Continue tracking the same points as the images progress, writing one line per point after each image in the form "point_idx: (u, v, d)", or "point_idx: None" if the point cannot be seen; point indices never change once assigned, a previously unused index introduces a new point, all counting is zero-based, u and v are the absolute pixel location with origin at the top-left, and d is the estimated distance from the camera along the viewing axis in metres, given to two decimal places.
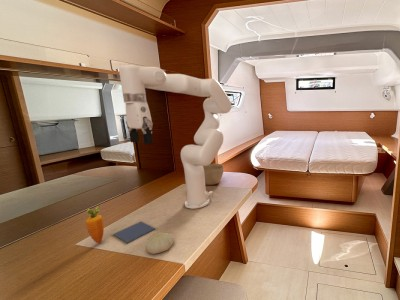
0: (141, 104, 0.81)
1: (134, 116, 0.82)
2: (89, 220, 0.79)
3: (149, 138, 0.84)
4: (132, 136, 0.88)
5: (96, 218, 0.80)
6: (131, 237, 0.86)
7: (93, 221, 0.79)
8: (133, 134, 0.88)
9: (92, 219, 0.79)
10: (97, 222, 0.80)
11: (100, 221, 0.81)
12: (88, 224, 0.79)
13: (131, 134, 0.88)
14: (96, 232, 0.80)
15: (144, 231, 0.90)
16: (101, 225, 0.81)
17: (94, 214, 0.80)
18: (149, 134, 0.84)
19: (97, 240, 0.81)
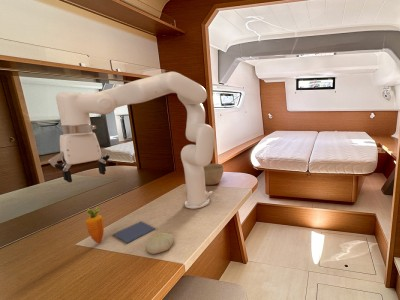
0: None
1: (91, 147, 0.76)
2: (89, 220, 0.79)
3: None
4: None
5: (96, 218, 0.80)
6: (131, 237, 0.86)
7: (93, 221, 0.79)
8: None
9: (92, 219, 0.79)
10: (97, 222, 0.80)
11: (100, 221, 0.81)
12: (88, 224, 0.79)
13: (69, 172, 0.73)
14: (96, 232, 0.80)
15: (144, 231, 0.90)
16: (101, 225, 0.81)
17: (94, 214, 0.80)
18: None
19: (97, 240, 0.81)
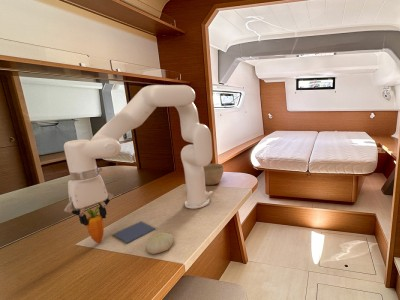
0: None
1: (98, 190, 0.79)
2: (89, 220, 0.79)
3: None
4: None
5: (96, 218, 0.80)
6: (131, 237, 0.86)
7: (93, 221, 0.79)
8: None
9: (92, 219, 0.79)
10: (97, 222, 0.80)
11: (100, 221, 0.81)
12: (88, 224, 0.79)
13: (85, 216, 0.78)
14: (96, 232, 0.80)
15: (144, 231, 0.90)
16: (101, 225, 0.81)
17: (94, 214, 0.80)
18: None
19: (97, 240, 0.81)
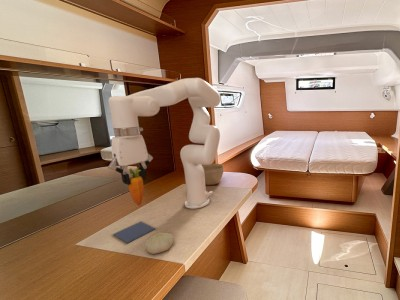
0: None
1: (140, 149, 0.78)
2: (131, 180, 0.78)
3: None
4: None
5: (137, 178, 0.79)
6: (131, 237, 0.86)
7: (135, 181, 0.78)
8: None
9: (134, 179, 0.78)
10: (138, 182, 0.79)
11: (141, 182, 0.80)
12: (130, 184, 0.78)
13: None
14: (137, 192, 0.79)
15: (144, 231, 0.90)
16: (142, 186, 0.80)
17: (135, 174, 0.79)
18: None
19: (138, 201, 0.80)
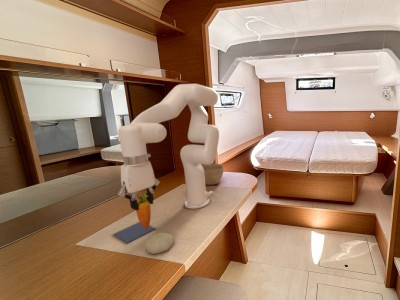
0: None
1: (148, 175, 0.80)
2: (139, 205, 0.80)
3: None
4: None
5: (145, 203, 0.81)
6: (131, 237, 0.86)
7: (143, 206, 0.80)
8: None
9: (142, 204, 0.80)
10: (146, 207, 0.81)
11: (148, 206, 0.82)
12: (138, 209, 0.80)
13: (136, 201, 0.79)
14: (145, 217, 0.81)
15: (144, 231, 0.90)
16: (149, 210, 0.82)
17: (143, 199, 0.81)
18: None
19: (145, 225, 0.82)
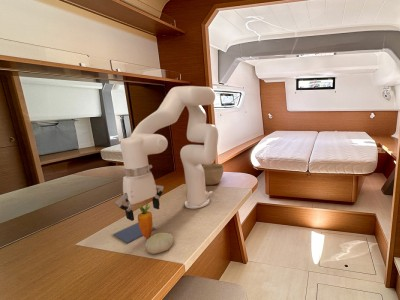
0: None
1: (149, 186, 0.81)
2: (141, 216, 0.81)
3: None
4: None
5: (147, 214, 0.82)
6: (131, 237, 0.86)
7: (145, 217, 0.81)
8: None
9: (144, 215, 0.81)
10: (148, 218, 0.82)
11: (150, 217, 0.83)
12: (140, 220, 0.81)
13: None
14: (147, 228, 0.82)
15: None
16: (151, 221, 0.83)
17: (145, 210, 0.82)
18: None
19: (147, 236, 0.83)
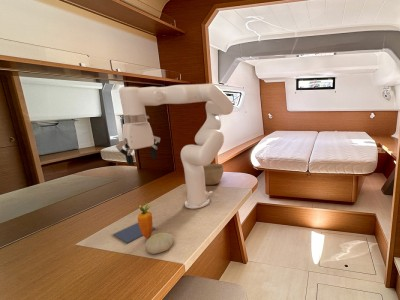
0: None
1: (147, 135, 0.87)
2: (141, 216, 0.81)
3: None
4: None
5: (147, 214, 0.82)
6: (131, 237, 0.86)
7: (145, 217, 0.81)
8: None
9: (144, 215, 0.81)
10: (148, 218, 0.82)
11: (150, 217, 0.83)
12: (140, 220, 0.81)
13: None
14: (146, 228, 0.82)
15: None
16: (151, 221, 0.83)
17: (145, 210, 0.82)
18: None
19: (147, 236, 0.83)
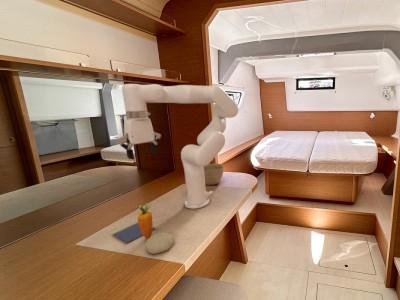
0: None
1: (148, 130, 0.91)
2: (141, 216, 0.81)
3: None
4: None
5: (147, 214, 0.82)
6: (131, 237, 0.86)
7: (145, 217, 0.81)
8: None
9: (144, 215, 0.81)
10: (148, 218, 0.82)
11: (150, 217, 0.83)
12: (140, 220, 0.81)
13: None
14: (146, 228, 0.82)
15: None
16: (151, 221, 0.83)
17: (145, 210, 0.82)
18: None
19: (147, 236, 0.83)
